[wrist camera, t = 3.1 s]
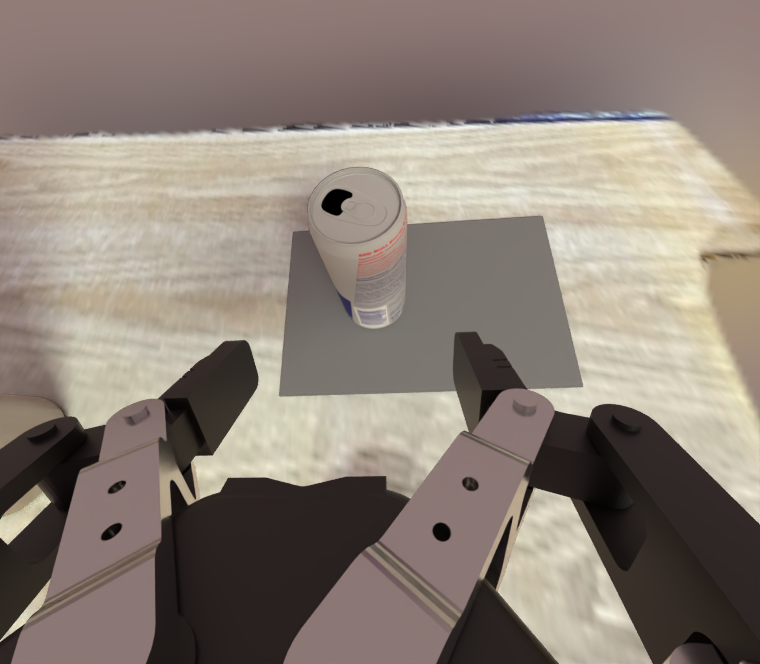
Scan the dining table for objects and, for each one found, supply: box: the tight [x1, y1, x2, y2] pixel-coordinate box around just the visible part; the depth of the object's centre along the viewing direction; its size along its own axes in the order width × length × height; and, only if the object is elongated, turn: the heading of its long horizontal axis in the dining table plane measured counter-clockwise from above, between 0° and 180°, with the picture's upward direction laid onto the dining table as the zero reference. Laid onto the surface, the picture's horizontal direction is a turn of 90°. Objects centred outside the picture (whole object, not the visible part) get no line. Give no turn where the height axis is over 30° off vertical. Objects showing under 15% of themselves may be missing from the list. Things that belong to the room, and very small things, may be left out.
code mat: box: [279, 216, 583, 396], centre depth 26 cm, size 24×16×1 cm, turn 91°
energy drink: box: [307, 167, 407, 329], centre depth 21 cm, size 5×5×12 cm
